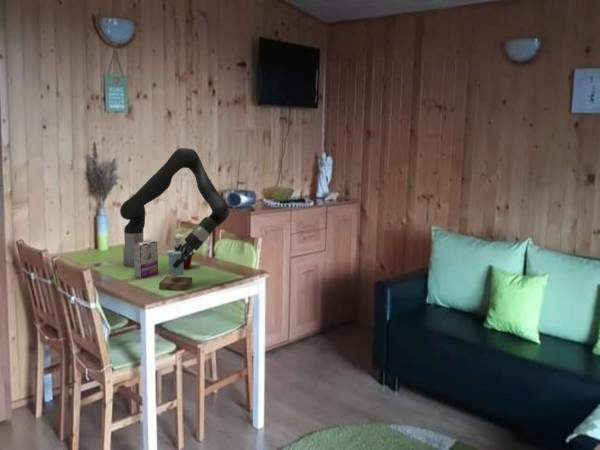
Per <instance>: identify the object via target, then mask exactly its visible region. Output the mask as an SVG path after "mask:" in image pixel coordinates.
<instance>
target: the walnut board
mask: <svg viewBox="0 0 600 450" xmlns="http://www.w3.org/2000/svg"><path fill="white" fill-rule="evenodd" d="M192 285H193V277H192V276H172V275H166V276H165V277H164V278H163V279H162V280H160V281H159V282H158V290H159V289H163V290H162V291H178V290H180V291H181V292H186V291H187V290H188V289H190V287H191V286H192Z"/></svg>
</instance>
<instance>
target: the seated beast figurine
mask: <svg viewBox="0 0 600 450" xmlns="http://www.w3.org/2000/svg"><path fill="white" fill-rule="evenodd" d="M184 237H185V235H184V234H181V233H176V234H175V235H174V238H173V240H174V244H176V243H183V242H182V240H183V238H184ZM169 252H175V247H173V249H169V250H167V251H166V255H168V256H169Z"/></svg>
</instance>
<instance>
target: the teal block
mask: <svg viewBox="0 0 600 450" xmlns="http://www.w3.org/2000/svg"><path fill="white" fill-rule="evenodd" d="M180 256H181V252H178V251H175V252H169V255H168V274H169V276H177V277H181V276H184V272H185V271H184V270H185V269H183V263H181V264H180V265H179V266H178V267H177V268H174V267H173V264H174V263H175V262H176V261H177V260H179V257H180ZM182 257H183V256H182Z"/></svg>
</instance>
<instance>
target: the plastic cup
mask: <svg viewBox="0 0 600 450" xmlns="http://www.w3.org/2000/svg"><path fill="white" fill-rule="evenodd" d="M185 243H186V242H182V243H176V244H175V243H174V244H173V246H174V247H175V251H176V249H177V248H178V246H179V245H180V244H181V245H182V246H183V245H184V244H185ZM174 247H173V248H174ZM192 258H193V256H192V257H190V258H189V259H188V260H187V261H186V262H183V269H184V270H186V269H187V270H188V269H190V267H191V265H192V260H193V259H192Z"/></svg>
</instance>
